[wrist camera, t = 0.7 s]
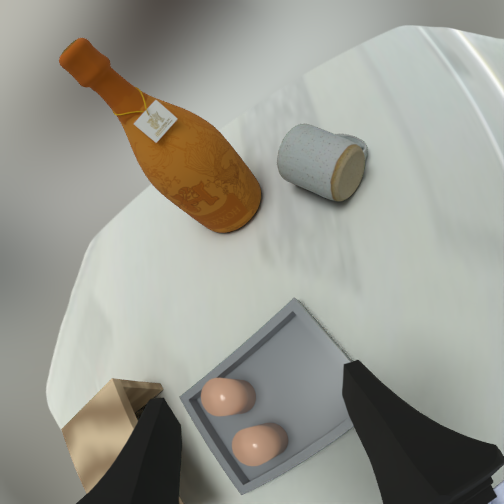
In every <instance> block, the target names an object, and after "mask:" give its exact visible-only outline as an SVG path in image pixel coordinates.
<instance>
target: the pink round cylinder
mask: <svg viewBox="0 0 504 504" xmlns="http://www.w3.org/2000/svg"><path fill="white" fill-rule="evenodd" d="M287 445H288V436H287V433H286V431H285V430H284V429H283V428H282V427H281V426H280V425H278V424H275V423H264V424H260V425H257V426H253V427H249V428H245V429H242V430H240V431H239V432H237V433H236V435H235V436H234V438H233V440H232V450H233V453H234V455H235V457H236V458H237V459H238V460H239V461H240V462H241V463H243V464H245V465H247V466H259V465H261V464H263V463H265V462H267V461H269V460H271V459H273V458H274V457H276V456H278V455H280V454H281V453H283V452H284V451H285V449H286V448H287Z"/></svg>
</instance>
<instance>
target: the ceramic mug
mask: <svg viewBox="0 0 504 504" xmlns="http://www.w3.org/2000/svg"><path fill="white" fill-rule="evenodd" d="M366 156H367V145H366V143H365V142H364V141H363V140H361V139H359V138H357V137H355V136H352V135H347V134H333V133H330V132H328V131H325V130H323V129H320V128H318V127H315V126H312V125H309V124H300V125H297V126H295V127H293V128H292V129H291V130H290V131H289V132H288V133H287V134H286V136H285V137H284V139H283V141H282V143H281V145H280V148H279V151H278V158H277V165H278V170H279V173H280V175H281V176H282V177H283V178H284V179H285V180H286V181H288V182H291V183H293V184H295V185H297V186H300V187H302V188H304V189H307V190H309V191H311V192H314V193H316V194H318V195H320V196H322V197H324V198H327V199H330V200H334V201H343V200H345V199H347V198H349V197H350V196H351V195H352V194H353V193H354V192H355V190H356V189H357V187H358V185H359V183H360V181H361V179H362V176H363V172H364V168H365V159H366Z"/></svg>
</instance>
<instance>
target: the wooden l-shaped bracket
mask: <svg viewBox="0 0 504 504" xmlns="http://www.w3.org/2000/svg"><path fill="white" fill-rule="evenodd" d="M162 390H163V388H162V386H161V384H160V383H149V382H138V381H129V380H121V379H113V378H112V379H111V380H110V381H109V382H108V383H107V384H106V385H105V386H104V387H103V388H102V389H101V390H100V391H99V392H98V393H97V394H96V395H95V396H94V397H93V398H92V399H91V400H90V401H89V402H88V403H87V404H86V405H85V406H84V407H83V408H82V409H81V410H80V411H79V412H78V413H77V414H76V415H75V416H74V417H73V418H72V419H71V420H70V421H69V422H68V423H67V424H66V425H65V426H64V427H63V428H62V429H61V430H62V433H63V435H64V439H65V442H66V444H67V447H68V450H69V453H70V455H71V458H72V461H73V463H74V466H75V468H76V471H77V473H78V475H79V478H80V480H81V482H82V484H83V487H84V489H85V491H86V493H88V492H89V491H90V490H91V489H92V488H93V487H94V486H95V485H96V484H97V483H98V481H99V480H100V479H101V478H102V477H103V476H104V474H105V473H106V472H107V470H108V469H109V468H110V467H111V465H112V464H113V462H114V461H115V459H116V458H117V456H118V455H119V453H120V452H121V450H122V448H123V447H124V445H125V444H126V442H127V440H128V438H129V437H130V435H131V433H132V431H133V430H134V428H135V426H136V424H137V422H138V420H137V418H136V416H135V414H134V413H136V412H137V411H138V410H139V409H141V408H142V407H143V406H144V405H145V404H147V403H148V401H149V400H150V399H153V398H154V397H155V396H156V395H158V394H159V393H160V392H161V391H162ZM179 504H184V503H183V502H182V500H181V499H180V497H179Z"/></svg>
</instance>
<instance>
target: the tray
mask: <svg viewBox="0 0 504 504" xmlns="http://www.w3.org/2000/svg"><path fill="white" fill-rule="evenodd" d="M349 362H352V361H351V360H350V358H349V357H348V356H347V355H346V354H345V353H344V352H343V350H342V349H341V348H340V347H339V346H338V345H337V344H336V342H335V341H334V340H333V339H332V338H331V337H330V336H329V334H328V333H327V332H326V331H325V330H324V329H323V328H322V327H321V325H320V324H319V323H318V322H317V321H316V320H315V319H314V317H313V316H312V315H311V314H310V313H309V312H308V311H307V309H306V308H305V307H304V306H303V305H302V304H301V303H300V301H298V300H297V299H296V298H293V299H292V300H291V301H290V302H289V303H288V304H287V305H286V306H284V307H283V308H282V309H281V310H280V311H279V312H278V313H277V314H276V315H275V316H274V317H273V318H271V319H270V320H269V321H268V322H267V323H266V324H265V325H264V326H263V327H261V328H260V329H259V330H258V331H257V332H256V333H255V334H254V335H252V336H251V337H250V338H249V339H248V340H247V341H246V342H245V343H243V344H242V345H241V346H240V347H239V348H238V349H236V350H235V351H234V352H233V353H232V354H231V355H230V356H228V357H227V358H226V359H225V360H224V361H222V362H221V363H220V364H219V365H218V366H217V367H215V368H214V369H213V370H212V371H211V372H209V373H208V374H207V375H206V376H205V377H203V378H202V379H201V380H200V381H198V382H197V383H196V384H195V385H194V386H192V387H191V388H190V389H189V390H187V391H186V392H185V393H184V394H182V395H181V396H180V399H181V401H182V403H183V405H184V407H185V408H186V410H187V412H188V414H189V415H190V417H191V419H192V421H193V422H194V424H195V426H196V427H197V429H198V431H199V432H200V434H201V436H202V437H203V439H204V441H205V442H206V444H207V445H208V447H209V449H210V450H211V452H212V453H213V455H214V456H215V458H216V459H217V461H218V462H219V464H220V465H221V467H222V468H223V470H224V471H225V473H226V474H227V476H228V477H229V479H230V480H231V481H232V483H233V484H234V486H235V487H236V488H237V490H238V491H239V493H240V494H241V495H243V494H245V493H247V492H249V491H251V490H253V489H255V488H257V487H259V486H261V485H263V484H265V483H267V482H269V481H270V480H272V479H274V478H276V477H278V476H279V475H281V474H283V473H285V472H286V471H288V470H290V469H291V468H293V467H295V466H296V465H298V464H300V463H301V462H303V461H305V460H306V459H308V458H309V457H311V456H312V455H314V454H315V453H317V452H318V451H320V450H321V449H323V448H324V447H326V446H327V445H329V444H330V443H332V442H333V441H334V440H336V439H337V438H339V437H340V436H341V435H343V434H344V433H345V432H347V431H348V430H349V429H351V428H352V427H353V426H354V425H353V423H352V421H351V419H350V417H349V414H348V412H347V409H346V406H345V403H344V399H343V396H342V386H343V367H344V364H346V363H349ZM213 378H228V379H240V380H245V381H247V382H249V383H250V384H251V385H252V386H253V388H254V390H255V393H256V401H255V404H254V406H253V407H252V409H251V410H250V411H248V412H246V413H243V414H236V415H228V416H214V415H211V414H210V413H208V412H207V411H206V410H205V408H204V407H203V404H202V401H201V392H202V388H203V386H204V385H205V384H206V382H208V381H209V380H211V379H213ZM264 423H275V424H278V425H280V426H281V427H282V428H283V429H284V430H285V431H286V433H287V436H288V445H287V448H286V449H285V451H284V452H283V453H281V454H280V455H278V456H276V457H274V458H273V459H271V460H269V461H267V462H265V463H263V464H261V465H259V466H247V465H245V464H243V463H241V462H240V461H239V460H238V459H237V458H236V457H235V455H234V453H233V450H232V440H233V438H234V436H235V435H236V433H237V432H239V431H240V430H242V429H245V428H249V427H253V426H257V425H260V424H264Z"/></svg>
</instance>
